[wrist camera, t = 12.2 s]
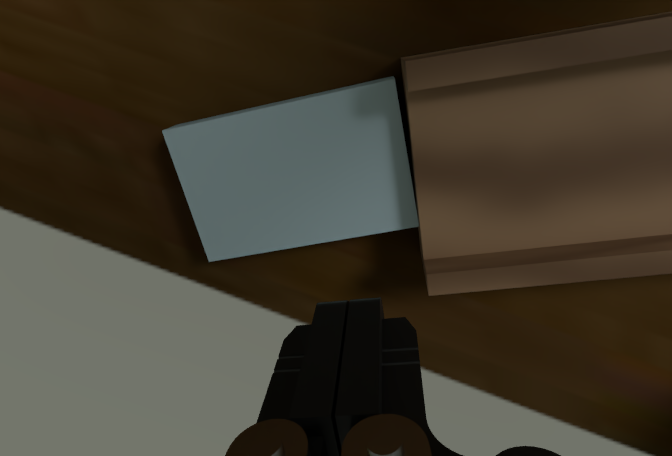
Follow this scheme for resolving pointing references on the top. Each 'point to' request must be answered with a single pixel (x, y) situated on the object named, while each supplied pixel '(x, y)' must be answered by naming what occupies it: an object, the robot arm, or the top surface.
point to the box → (544, 157)
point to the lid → (297, 171)
